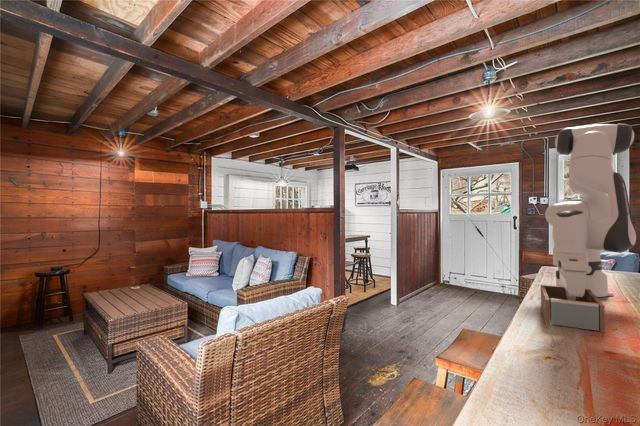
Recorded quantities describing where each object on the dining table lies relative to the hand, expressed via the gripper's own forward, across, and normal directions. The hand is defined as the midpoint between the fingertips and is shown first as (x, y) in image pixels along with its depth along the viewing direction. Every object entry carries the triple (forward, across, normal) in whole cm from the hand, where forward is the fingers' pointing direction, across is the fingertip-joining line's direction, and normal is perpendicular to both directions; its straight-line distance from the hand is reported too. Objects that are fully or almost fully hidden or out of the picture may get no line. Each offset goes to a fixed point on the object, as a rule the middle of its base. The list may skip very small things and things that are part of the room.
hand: (571, 303), depth 98 cm
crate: (+6, -4, 0) cm, 8 cm away
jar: (+6, -23, +2) cm, 24 cm away
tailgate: (+6, +6, 0) cm, 8 cm away
